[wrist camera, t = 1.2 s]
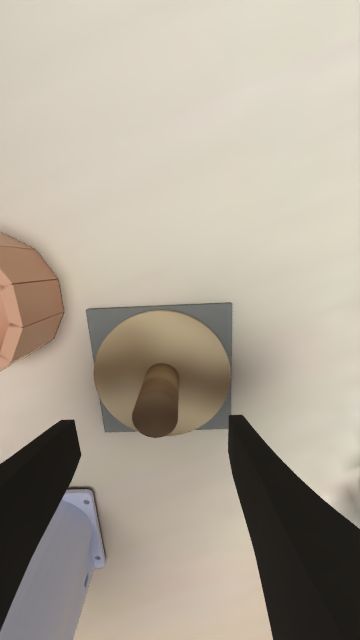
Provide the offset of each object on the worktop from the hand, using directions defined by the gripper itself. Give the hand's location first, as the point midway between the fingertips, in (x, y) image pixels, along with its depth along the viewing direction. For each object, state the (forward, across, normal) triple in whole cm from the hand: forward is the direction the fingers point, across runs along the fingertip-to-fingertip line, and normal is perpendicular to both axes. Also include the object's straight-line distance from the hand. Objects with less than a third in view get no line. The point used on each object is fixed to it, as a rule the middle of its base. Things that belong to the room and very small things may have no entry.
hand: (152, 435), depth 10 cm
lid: (+6, 0, 0) cm, 6 cm away
